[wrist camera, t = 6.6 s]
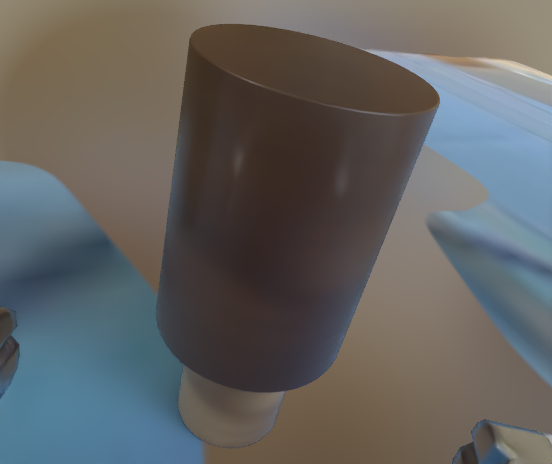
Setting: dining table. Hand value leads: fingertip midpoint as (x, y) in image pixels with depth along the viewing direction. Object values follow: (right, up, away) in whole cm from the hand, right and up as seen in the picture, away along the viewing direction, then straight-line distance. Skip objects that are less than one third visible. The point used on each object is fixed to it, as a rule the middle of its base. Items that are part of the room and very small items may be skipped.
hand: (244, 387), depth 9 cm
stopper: (-1, -3, +7) cm, 8 cm away
